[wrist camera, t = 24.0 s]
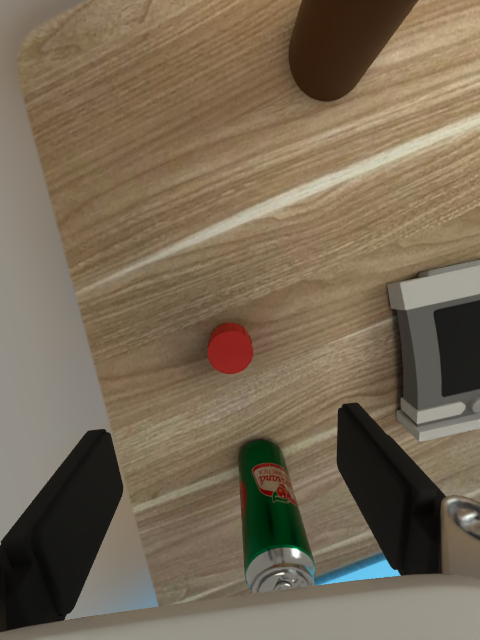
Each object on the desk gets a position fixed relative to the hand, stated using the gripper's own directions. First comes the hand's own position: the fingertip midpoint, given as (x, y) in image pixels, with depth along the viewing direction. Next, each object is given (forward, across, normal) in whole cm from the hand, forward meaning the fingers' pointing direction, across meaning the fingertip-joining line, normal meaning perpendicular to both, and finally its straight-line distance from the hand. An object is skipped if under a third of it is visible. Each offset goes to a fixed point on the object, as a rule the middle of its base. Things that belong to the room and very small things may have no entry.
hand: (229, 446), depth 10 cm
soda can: (+15, -3, +15) cm, 21 cm away
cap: (+15, 0, +1) cm, 15 cm away
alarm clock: (+15, -26, +3) cm, 30 cm away
